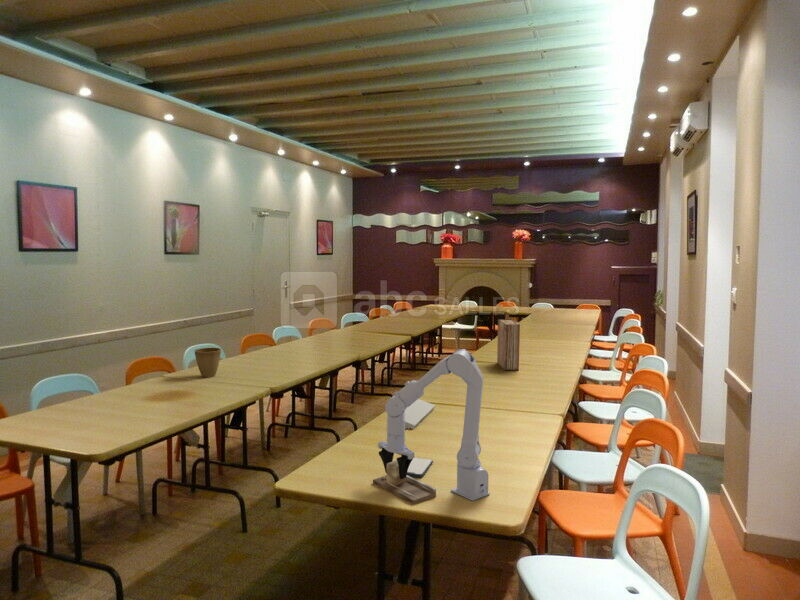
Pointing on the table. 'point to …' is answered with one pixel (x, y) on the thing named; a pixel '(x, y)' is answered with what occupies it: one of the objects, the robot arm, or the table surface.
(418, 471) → the smartphone
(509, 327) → the tall wooden block
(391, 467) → the block
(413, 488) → the board
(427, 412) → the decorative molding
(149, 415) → the table surface
